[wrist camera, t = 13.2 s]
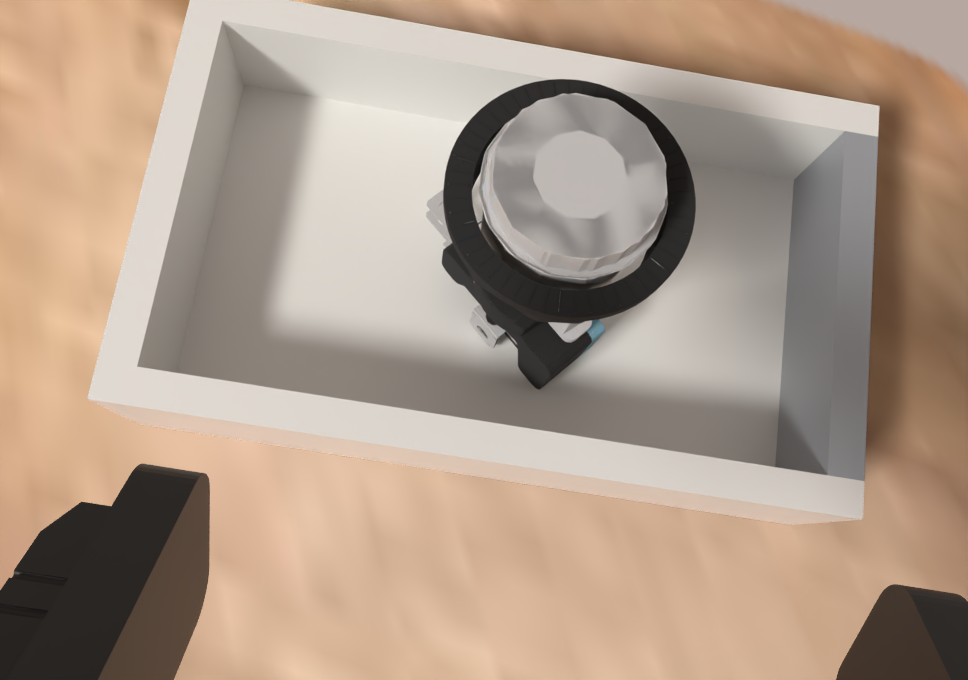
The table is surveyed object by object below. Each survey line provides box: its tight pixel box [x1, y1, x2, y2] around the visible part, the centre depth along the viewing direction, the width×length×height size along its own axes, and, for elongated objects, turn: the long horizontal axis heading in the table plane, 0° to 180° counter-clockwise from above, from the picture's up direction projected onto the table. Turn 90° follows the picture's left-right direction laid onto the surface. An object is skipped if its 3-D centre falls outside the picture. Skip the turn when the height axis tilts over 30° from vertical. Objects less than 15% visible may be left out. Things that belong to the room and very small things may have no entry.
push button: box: [426, 79, 696, 390], centre depth 23 cm, size 7×5×10 cm
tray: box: [87, 0, 879, 525], centre depth 26 cm, size 20×12×4 cm, turn 82°
